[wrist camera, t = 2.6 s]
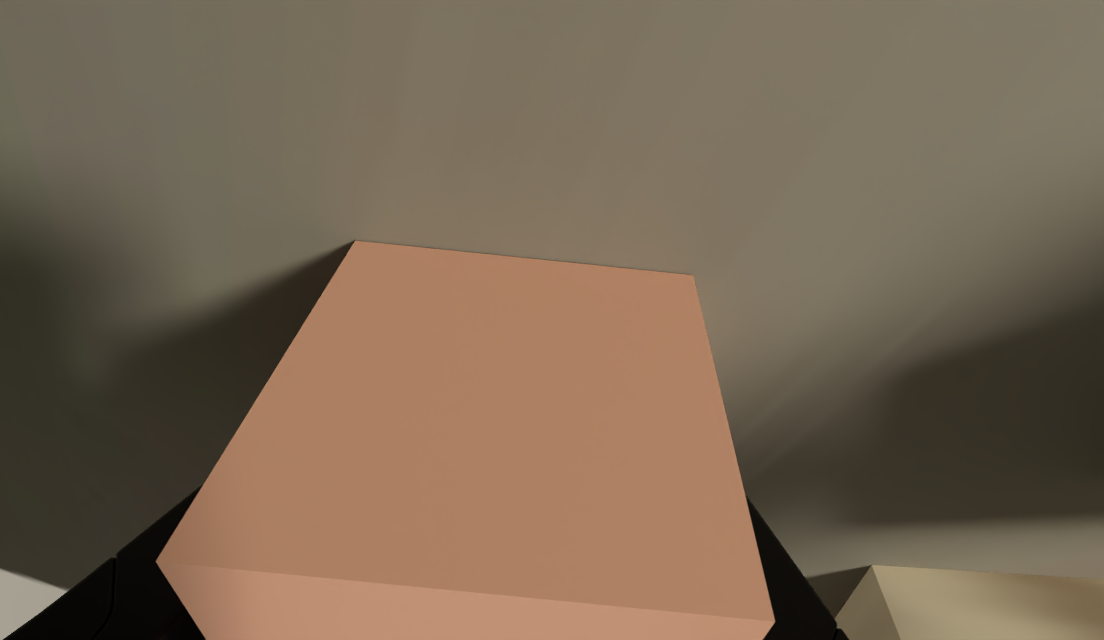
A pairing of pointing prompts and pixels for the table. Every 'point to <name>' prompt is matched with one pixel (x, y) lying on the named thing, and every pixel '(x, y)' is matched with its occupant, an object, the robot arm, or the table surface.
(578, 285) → the terracotta cube
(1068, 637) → the maple base
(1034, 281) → the table surface
